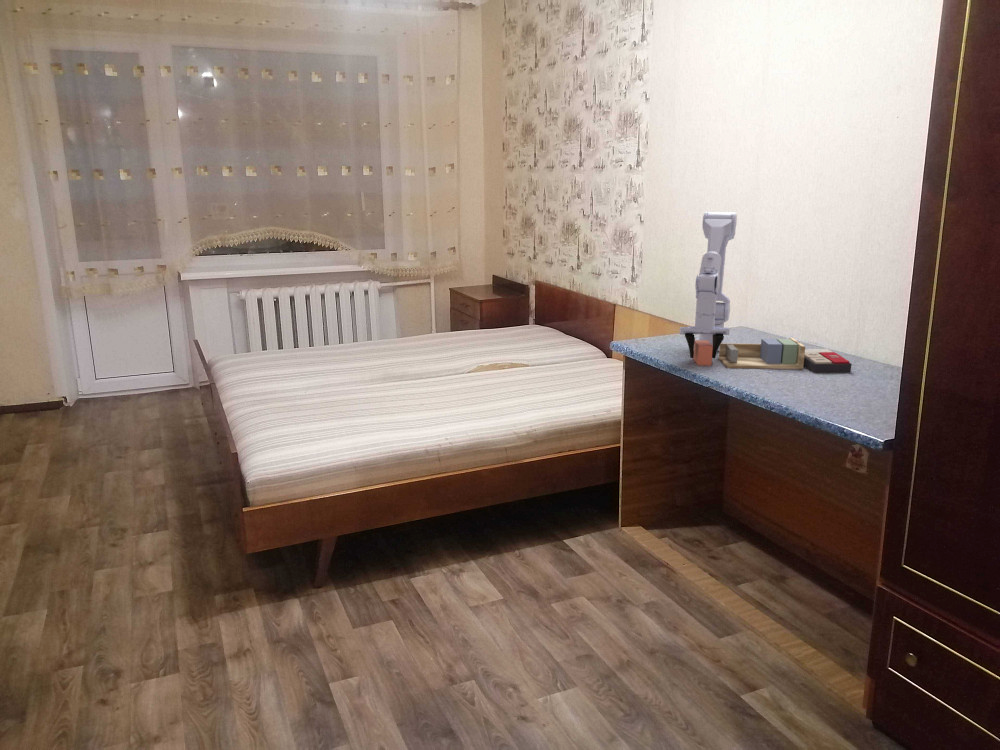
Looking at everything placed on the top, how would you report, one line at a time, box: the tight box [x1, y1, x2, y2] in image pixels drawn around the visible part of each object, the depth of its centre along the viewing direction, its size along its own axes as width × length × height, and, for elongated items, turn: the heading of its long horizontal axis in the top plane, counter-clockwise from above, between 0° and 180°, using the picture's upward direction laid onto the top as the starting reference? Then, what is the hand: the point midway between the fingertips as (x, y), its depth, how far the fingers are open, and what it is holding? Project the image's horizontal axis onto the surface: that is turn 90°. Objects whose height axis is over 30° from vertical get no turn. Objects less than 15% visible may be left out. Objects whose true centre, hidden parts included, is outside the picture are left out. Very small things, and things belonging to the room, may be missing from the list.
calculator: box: [803, 348, 852, 374], centre depth 225 cm, size 11×4×15 cm
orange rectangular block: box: [692, 339, 713, 366], centre depth 230 cm, size 8×4×6 cm, turn 176°
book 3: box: [775, 338, 798, 364], centre depth 227 cm, size 8×4×6 cm, turn 176°
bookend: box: [725, 345, 738, 363], centre depth 229 cm, size 7×2×4 cm, turn 176°
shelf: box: [718, 337, 806, 370], centre depth 227 cm, size 12×22×7 cm, turn 86°
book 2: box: [760, 338, 782, 364], centre depth 227 cm, size 8×4×6 cm, turn 176°
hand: (702, 357), depth 230 cm, fingers open, 6 cm apart
